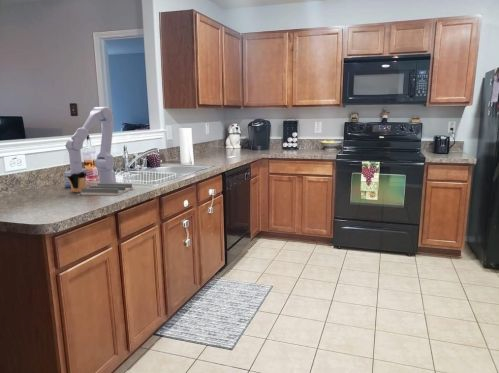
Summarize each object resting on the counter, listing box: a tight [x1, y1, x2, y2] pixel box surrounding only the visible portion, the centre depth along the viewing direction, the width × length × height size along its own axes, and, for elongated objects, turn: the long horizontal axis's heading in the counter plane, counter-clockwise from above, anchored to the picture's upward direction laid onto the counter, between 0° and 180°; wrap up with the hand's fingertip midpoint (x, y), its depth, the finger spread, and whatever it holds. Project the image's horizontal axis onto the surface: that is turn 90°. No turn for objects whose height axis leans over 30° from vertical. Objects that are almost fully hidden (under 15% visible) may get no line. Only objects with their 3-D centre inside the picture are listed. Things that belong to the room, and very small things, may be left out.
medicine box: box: [62, 171, 71, 188], centre depth 218 cm, size 8×4×9 cm, turn 105°
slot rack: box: [80, 182, 134, 196], centre depth 201 cm, size 17×20×3 cm
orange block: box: [70, 177, 87, 193], centre depth 204 cm, size 4×6×7 cm, turn 79°
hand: (78, 187), depth 204 cm, fingers closed on orange block, 4 cm apart
